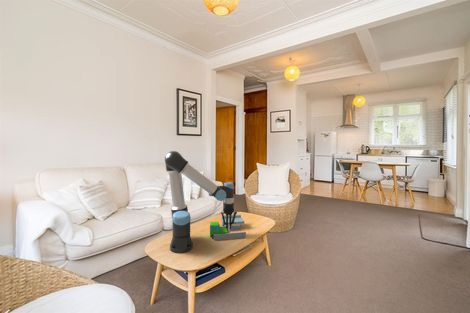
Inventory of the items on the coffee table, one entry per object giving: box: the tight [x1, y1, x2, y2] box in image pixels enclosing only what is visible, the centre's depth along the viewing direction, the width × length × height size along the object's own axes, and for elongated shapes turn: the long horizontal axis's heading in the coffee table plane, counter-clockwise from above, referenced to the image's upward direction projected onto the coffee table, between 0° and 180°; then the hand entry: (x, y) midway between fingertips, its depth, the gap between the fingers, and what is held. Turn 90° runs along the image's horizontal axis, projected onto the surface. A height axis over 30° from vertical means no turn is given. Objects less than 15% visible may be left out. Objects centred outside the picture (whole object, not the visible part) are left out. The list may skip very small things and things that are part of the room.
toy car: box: [209, 221, 228, 240], centre depth 172 cm, size 10×13×10 cm
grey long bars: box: [213, 224, 247, 241], centre depth 175 cm, size 24×16×4 cm
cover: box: [220, 214, 245, 226], centre depth 191 cm, size 13×19×8 cm
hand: (228, 232), depth 176 cm, fingers closed
